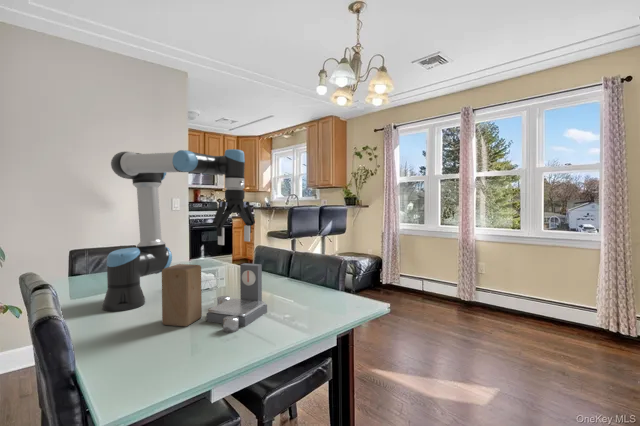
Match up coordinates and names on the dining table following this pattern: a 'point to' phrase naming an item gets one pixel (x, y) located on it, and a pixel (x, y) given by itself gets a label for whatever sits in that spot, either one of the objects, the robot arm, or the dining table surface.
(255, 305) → the pan
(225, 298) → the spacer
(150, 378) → the dining table surface
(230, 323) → the cylinder
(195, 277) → the wooden block
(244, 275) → the base
